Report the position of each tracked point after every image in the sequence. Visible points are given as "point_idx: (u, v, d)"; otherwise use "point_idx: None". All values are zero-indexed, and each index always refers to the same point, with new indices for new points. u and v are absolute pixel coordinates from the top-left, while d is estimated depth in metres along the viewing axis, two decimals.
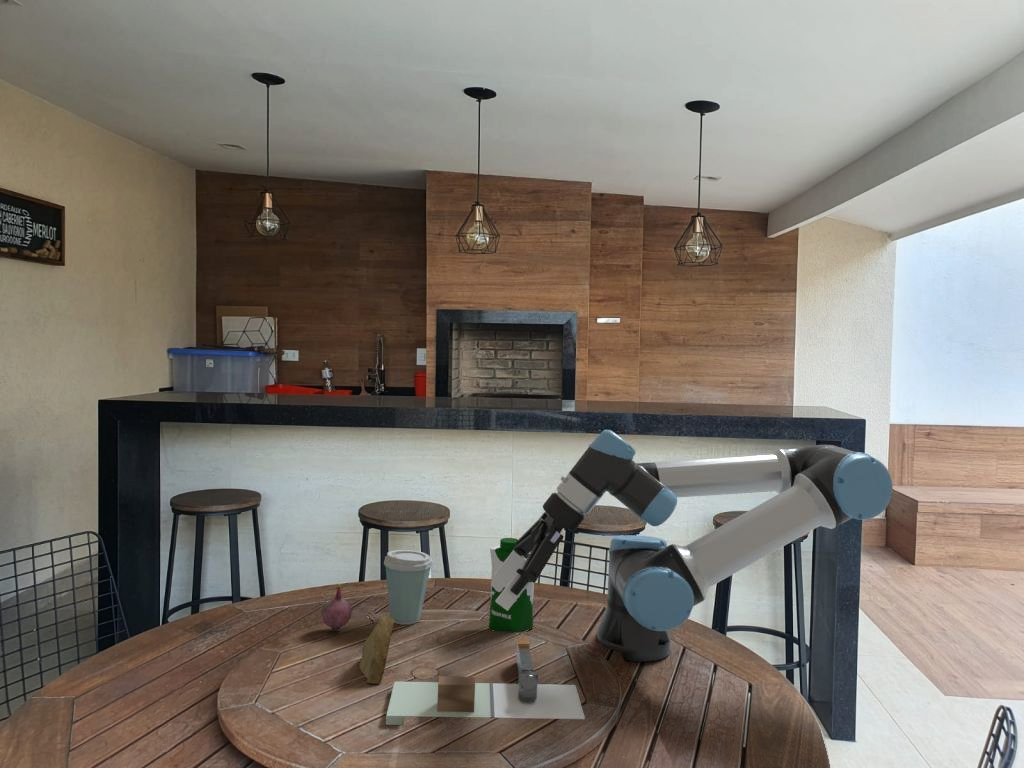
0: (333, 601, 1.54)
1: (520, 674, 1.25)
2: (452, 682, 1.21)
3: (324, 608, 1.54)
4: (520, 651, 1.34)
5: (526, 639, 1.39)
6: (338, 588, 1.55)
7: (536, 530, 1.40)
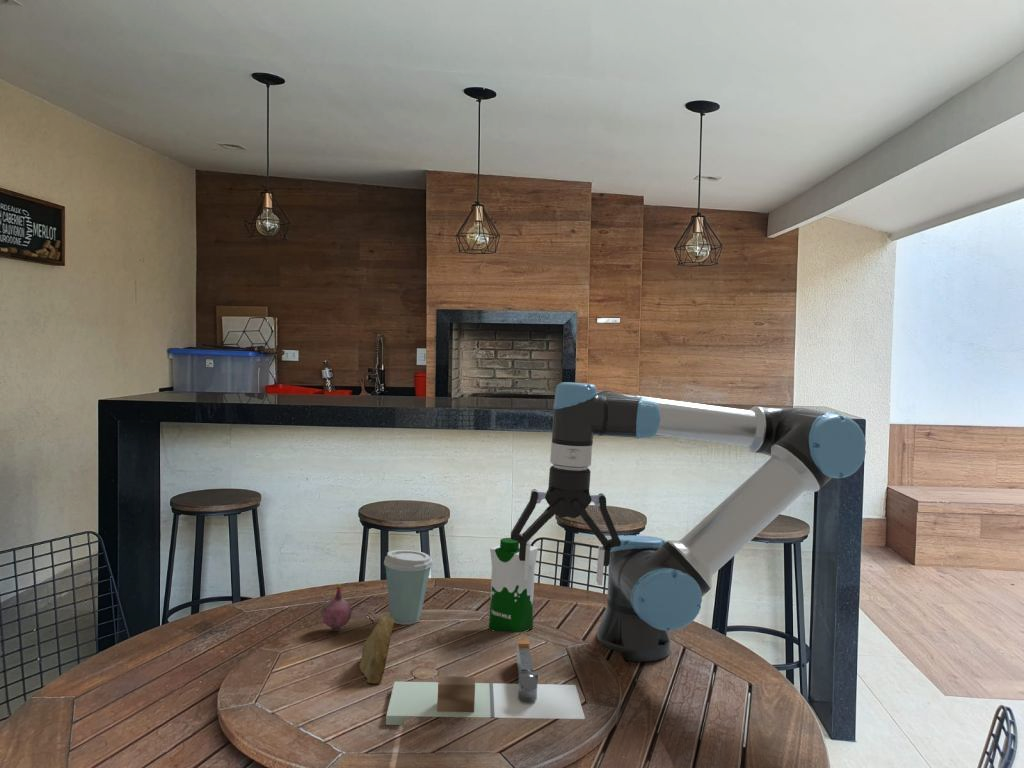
0: (333, 601, 1.54)
1: (520, 674, 1.25)
2: (452, 682, 1.21)
3: (324, 608, 1.54)
4: (520, 651, 1.34)
5: (526, 639, 1.39)
6: (338, 588, 1.55)
7: None
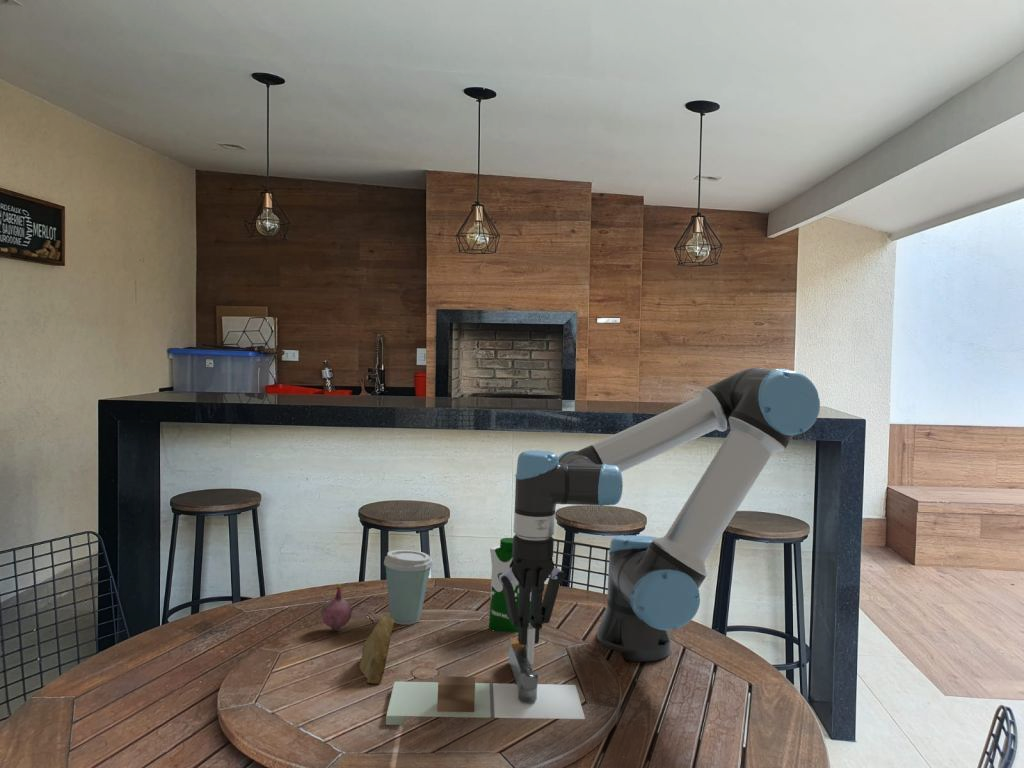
0: (333, 601, 1.54)
1: (520, 674, 1.25)
2: (452, 682, 1.21)
3: (324, 608, 1.54)
4: (515, 651, 1.34)
5: None
6: (338, 588, 1.55)
7: None
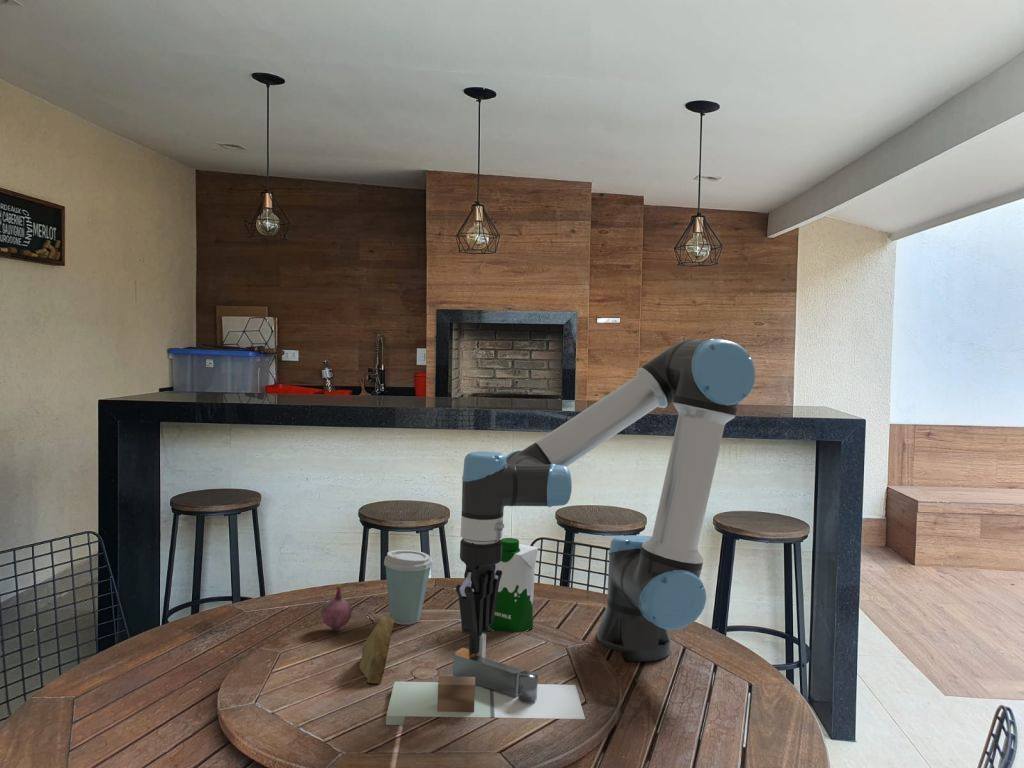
0: (333, 601, 1.54)
1: (523, 677, 1.24)
2: (452, 682, 1.21)
3: (324, 608, 1.54)
4: (479, 661, 1.29)
5: (465, 649, 1.33)
6: (338, 588, 1.55)
7: None
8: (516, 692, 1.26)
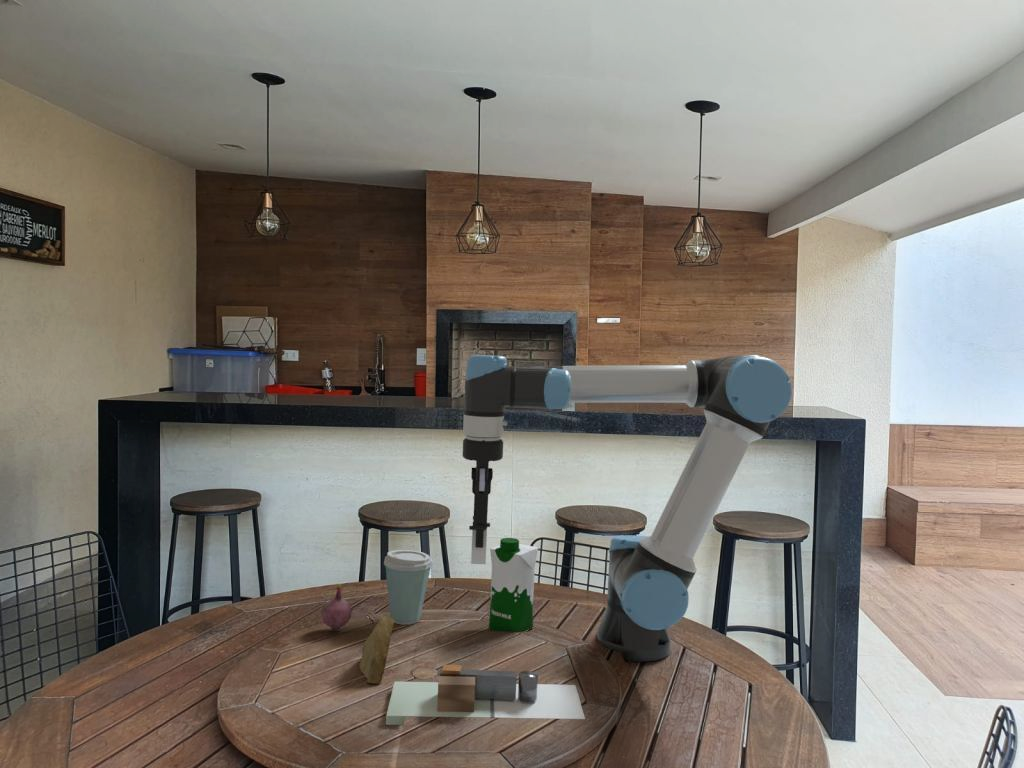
0: (333, 601, 1.54)
1: (528, 678, 1.24)
2: (452, 682, 1.21)
3: (324, 608, 1.54)
4: (472, 674, 1.24)
5: (448, 666, 1.26)
6: (338, 588, 1.55)
7: None
8: (515, 695, 1.25)
